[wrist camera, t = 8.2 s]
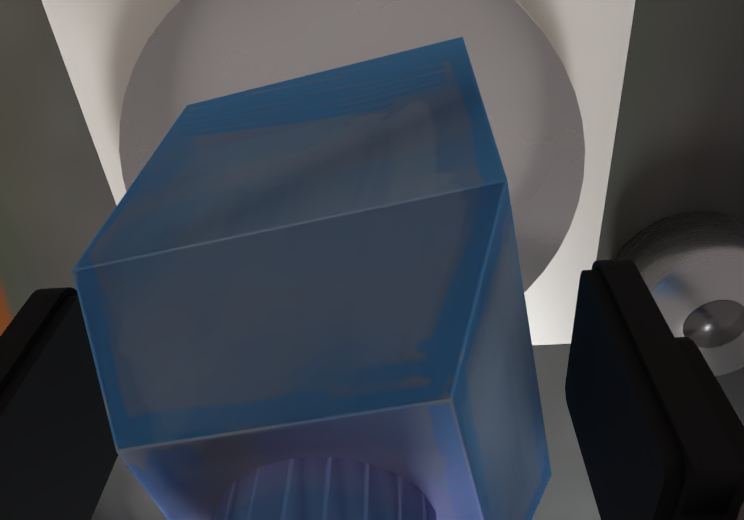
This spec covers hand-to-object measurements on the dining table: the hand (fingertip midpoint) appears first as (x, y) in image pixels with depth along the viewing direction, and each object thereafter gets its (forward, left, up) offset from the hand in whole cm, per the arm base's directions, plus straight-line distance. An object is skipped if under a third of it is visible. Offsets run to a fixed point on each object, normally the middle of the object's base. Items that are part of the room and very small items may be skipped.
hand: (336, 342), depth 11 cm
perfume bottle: (0, 0, -6) cm, 6 cm away
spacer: (-11, +7, -11) cm, 17 cm away
